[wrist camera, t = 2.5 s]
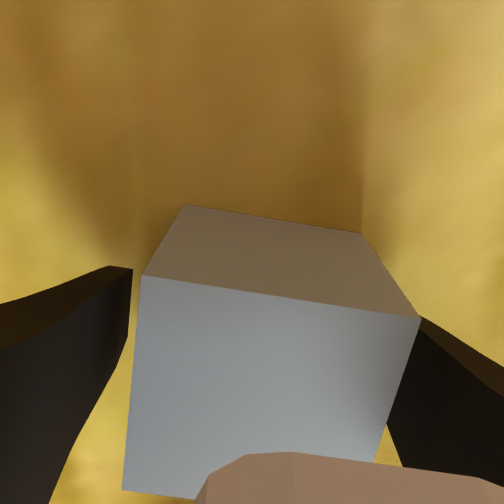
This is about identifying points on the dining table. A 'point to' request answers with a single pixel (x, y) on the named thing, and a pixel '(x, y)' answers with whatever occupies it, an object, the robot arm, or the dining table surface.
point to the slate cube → (260, 348)
